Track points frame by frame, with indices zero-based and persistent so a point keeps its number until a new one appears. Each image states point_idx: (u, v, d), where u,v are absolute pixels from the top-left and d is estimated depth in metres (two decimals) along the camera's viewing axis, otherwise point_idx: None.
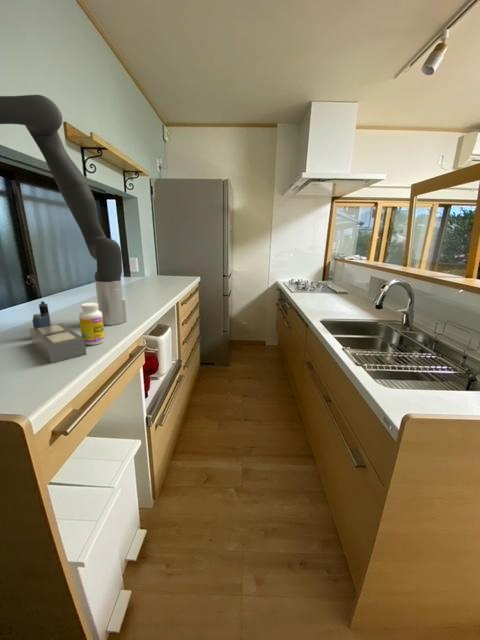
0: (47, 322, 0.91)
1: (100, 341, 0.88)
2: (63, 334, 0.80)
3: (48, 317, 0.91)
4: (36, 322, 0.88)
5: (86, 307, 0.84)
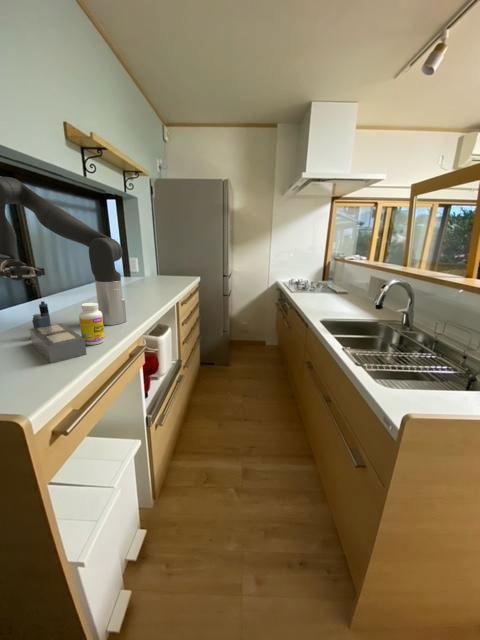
0: (47, 322, 0.91)
1: (100, 341, 0.88)
2: (63, 334, 0.80)
3: (48, 317, 0.91)
4: (36, 322, 0.88)
5: (86, 307, 0.84)
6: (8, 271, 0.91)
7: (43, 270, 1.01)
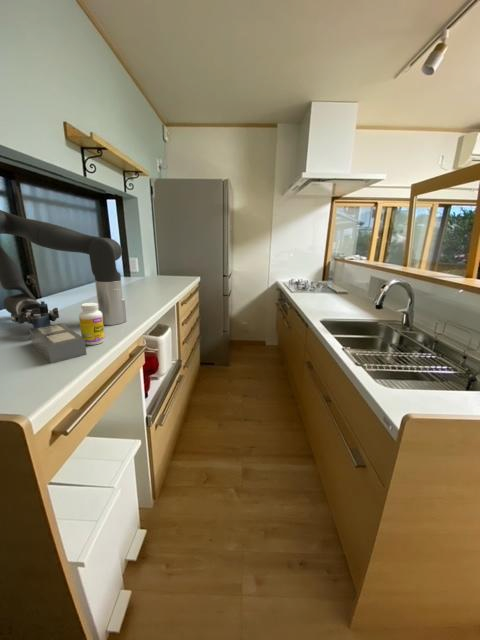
0: (47, 322, 0.91)
1: (100, 341, 0.88)
2: (63, 334, 0.80)
3: (48, 317, 0.91)
4: (36, 322, 0.88)
5: (86, 307, 0.84)
6: (32, 318, 0.87)
7: (56, 313, 0.95)
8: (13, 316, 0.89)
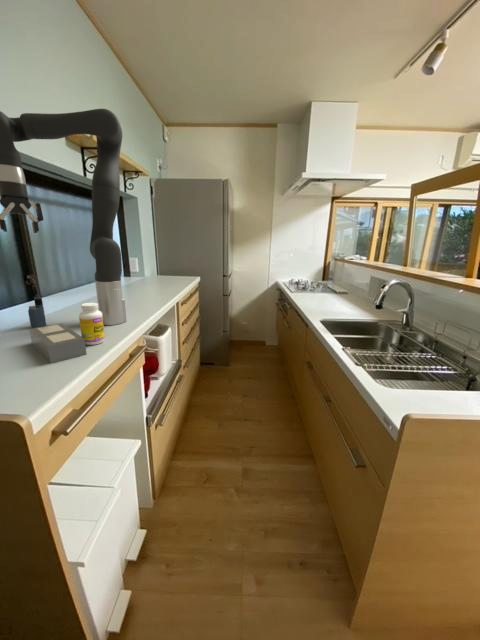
0: (41, 313, 1.01)
1: (100, 341, 0.88)
2: (63, 334, 0.80)
3: (42, 309, 1.02)
4: (31, 313, 0.98)
5: (86, 307, 0.84)
6: (5, 230, 0.92)
7: None
8: None
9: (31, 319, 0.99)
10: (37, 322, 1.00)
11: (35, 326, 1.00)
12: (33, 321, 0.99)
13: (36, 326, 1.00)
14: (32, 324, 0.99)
